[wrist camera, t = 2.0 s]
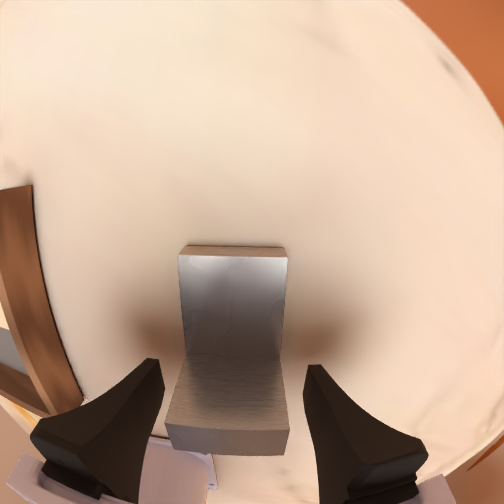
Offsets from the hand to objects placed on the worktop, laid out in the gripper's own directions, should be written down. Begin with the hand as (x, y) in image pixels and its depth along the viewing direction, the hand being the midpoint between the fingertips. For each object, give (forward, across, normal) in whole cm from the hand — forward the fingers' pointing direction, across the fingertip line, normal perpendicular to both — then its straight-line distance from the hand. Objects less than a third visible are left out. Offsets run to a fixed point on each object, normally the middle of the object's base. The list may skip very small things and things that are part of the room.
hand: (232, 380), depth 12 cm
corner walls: (+2, +19, -1) cm, 19 cm away
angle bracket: (+2, 0, -2) cm, 3 cm away
